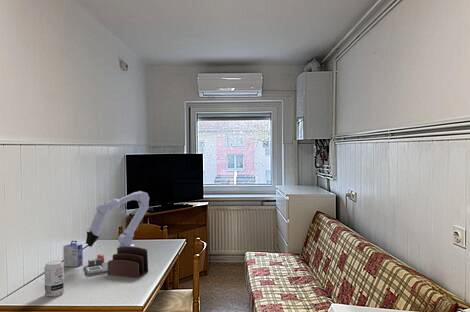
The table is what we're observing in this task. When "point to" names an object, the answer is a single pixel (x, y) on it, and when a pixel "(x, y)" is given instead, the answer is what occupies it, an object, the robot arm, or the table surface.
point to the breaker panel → (96, 269)
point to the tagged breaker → (91, 262)
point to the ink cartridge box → (72, 255)
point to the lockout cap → (101, 257)
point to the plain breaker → (98, 261)
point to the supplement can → (54, 278)
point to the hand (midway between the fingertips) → (88, 245)
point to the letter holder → (129, 262)
